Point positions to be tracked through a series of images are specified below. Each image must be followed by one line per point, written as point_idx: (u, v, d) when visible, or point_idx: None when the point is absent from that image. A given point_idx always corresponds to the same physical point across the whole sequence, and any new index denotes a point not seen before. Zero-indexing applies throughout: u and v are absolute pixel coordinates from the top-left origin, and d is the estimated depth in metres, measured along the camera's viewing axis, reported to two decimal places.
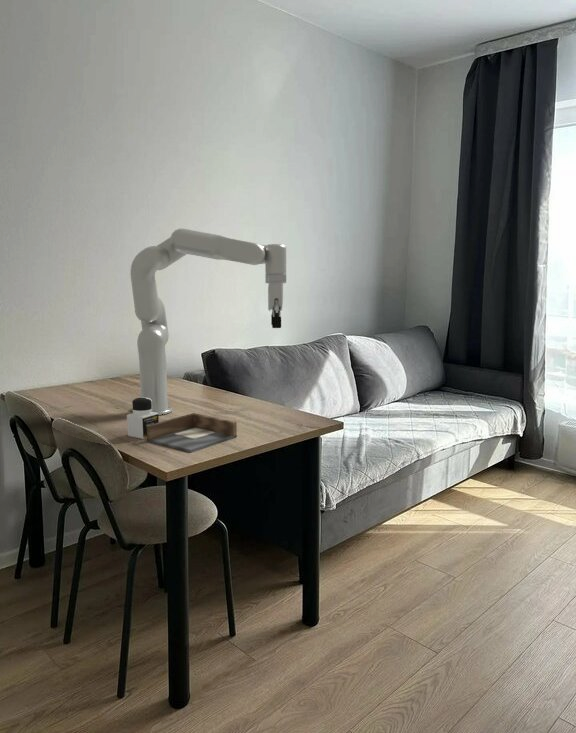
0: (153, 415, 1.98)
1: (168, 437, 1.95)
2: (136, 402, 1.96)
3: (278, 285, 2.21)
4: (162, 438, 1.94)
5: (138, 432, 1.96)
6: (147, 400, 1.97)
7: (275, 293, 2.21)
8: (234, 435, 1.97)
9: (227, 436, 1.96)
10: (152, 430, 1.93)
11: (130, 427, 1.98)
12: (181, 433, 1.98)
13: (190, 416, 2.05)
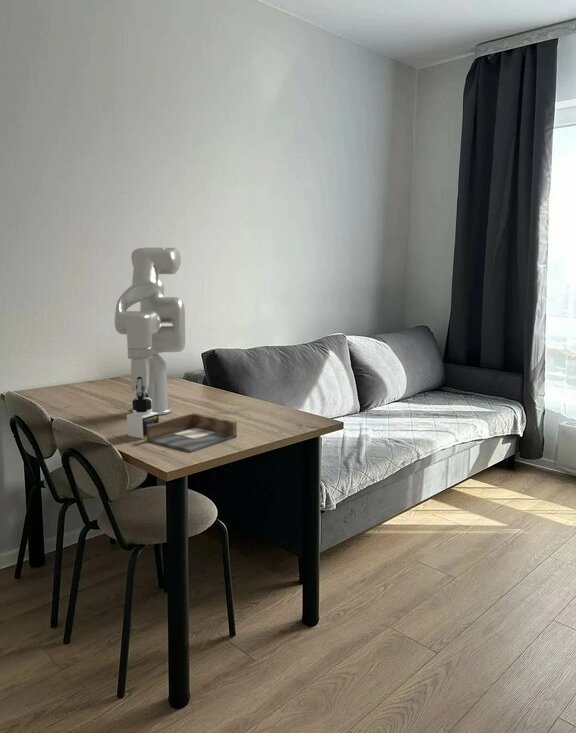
0: (153, 415, 1.98)
1: (168, 437, 1.95)
2: None
3: (141, 361, 1.92)
4: (162, 438, 1.94)
5: (138, 432, 1.96)
6: (147, 400, 1.97)
7: (138, 371, 1.92)
8: (234, 435, 1.97)
9: (227, 436, 1.96)
10: (152, 430, 1.93)
11: (130, 427, 1.98)
12: (181, 433, 1.98)
13: (190, 416, 2.05)
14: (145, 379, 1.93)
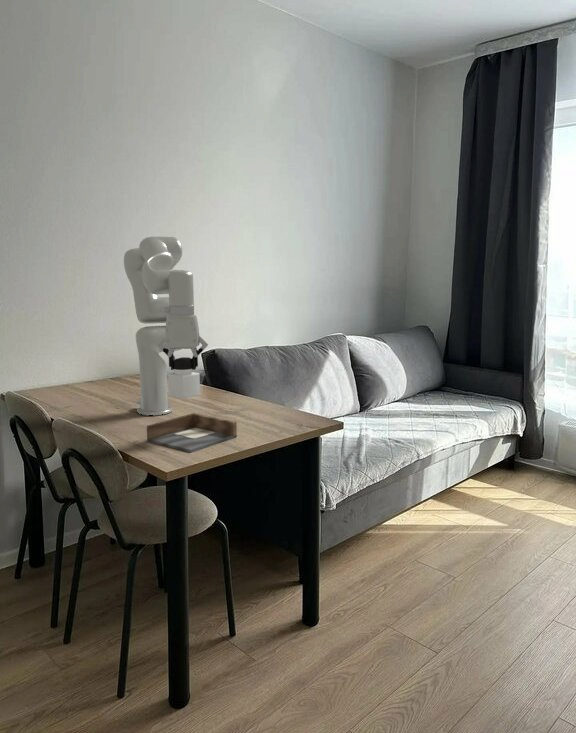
0: None
1: (168, 437, 1.95)
2: (190, 360, 1.93)
3: (196, 317, 1.94)
4: (162, 438, 1.94)
5: (195, 390, 1.95)
6: None
7: None
8: (234, 435, 1.97)
9: (227, 436, 1.96)
10: (152, 430, 1.93)
11: (186, 388, 1.93)
12: (181, 433, 1.98)
13: (190, 416, 2.05)
14: None
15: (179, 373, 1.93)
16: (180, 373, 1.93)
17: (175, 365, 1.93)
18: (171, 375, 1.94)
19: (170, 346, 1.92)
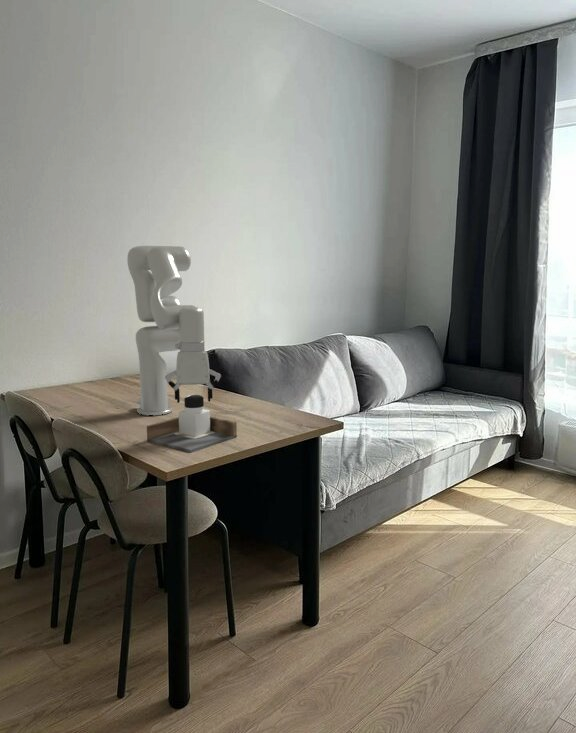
0: None
1: (168, 437, 1.95)
2: (201, 398, 1.96)
3: None
4: (162, 438, 1.94)
5: (206, 427, 1.98)
6: None
7: (208, 362, 1.95)
8: (234, 435, 1.97)
9: (227, 436, 1.96)
10: (152, 430, 1.93)
11: (199, 426, 1.95)
12: None
13: None
14: None
15: (191, 411, 1.95)
16: (192, 411, 1.95)
17: (186, 403, 1.95)
18: (182, 413, 1.96)
19: (182, 382, 1.93)
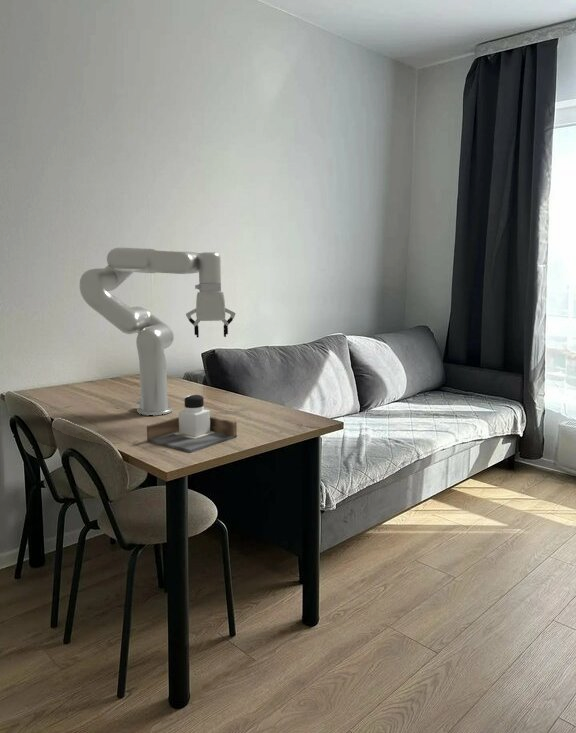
0: None
1: (168, 437, 1.95)
2: (201, 398, 1.96)
3: None
4: (162, 438, 1.94)
5: (206, 427, 1.98)
6: None
7: None
8: (234, 435, 1.97)
9: (227, 436, 1.96)
10: (152, 430, 1.93)
11: (199, 426, 1.95)
12: None
13: None
14: None
15: (191, 411, 1.95)
16: (192, 411, 1.95)
17: (186, 403, 1.95)
18: (182, 413, 1.96)
19: (201, 319, 2.18)
